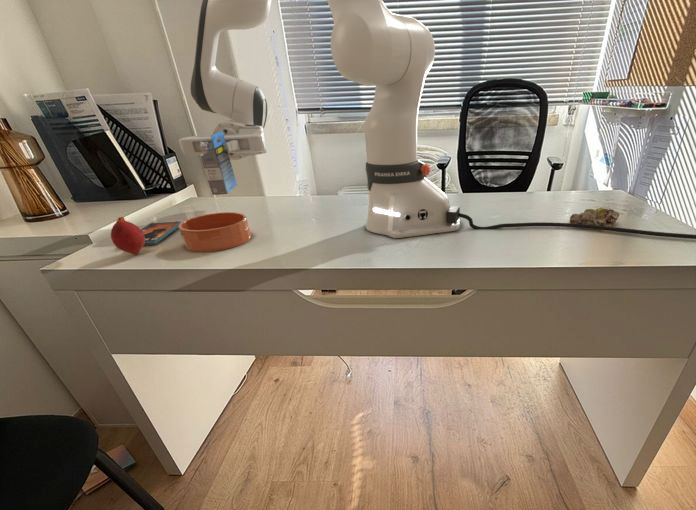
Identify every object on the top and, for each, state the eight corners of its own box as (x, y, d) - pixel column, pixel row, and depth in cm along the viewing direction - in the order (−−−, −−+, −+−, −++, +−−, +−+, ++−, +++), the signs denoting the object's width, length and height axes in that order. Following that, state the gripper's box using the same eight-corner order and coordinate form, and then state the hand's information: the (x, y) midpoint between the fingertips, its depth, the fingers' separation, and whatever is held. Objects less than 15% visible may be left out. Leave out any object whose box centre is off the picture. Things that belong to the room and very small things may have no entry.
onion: (136, 259, 81) (119, 221, 76) (113, 258, 82) (95, 220, 77) (156, 250, 85) (141, 213, 81) (134, 249, 86) (118, 212, 82)
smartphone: (118, 243, 87) (150, 222, 100) (121, 249, 88) (152, 228, 100) (153, 240, 87) (181, 220, 99) (156, 246, 88) (183, 225, 100)
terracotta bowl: (257, 229, 95) (252, 210, 92) (242, 249, 83) (236, 228, 81) (199, 232, 95) (192, 214, 92) (175, 253, 83) (167, 232, 80)
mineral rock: (608, 206, 91) (627, 205, 84) (606, 225, 93) (625, 226, 85) (562, 210, 91) (577, 209, 84) (561, 229, 93) (576, 230, 85)
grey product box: (222, 186, 98) (206, 131, 91) (238, 185, 98) (223, 130, 91) (211, 195, 91) (193, 135, 84) (228, 194, 91) (211, 134, 84)
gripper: (187, 129, 100) (164, 135, 88) (267, 125, 100) (254, 130, 89) (196, 156, 103) (174, 165, 92) (273, 152, 104) (261, 160, 93)
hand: (214, 148), depth 90 cm, fingers closed on grey product box, 4 cm apart
